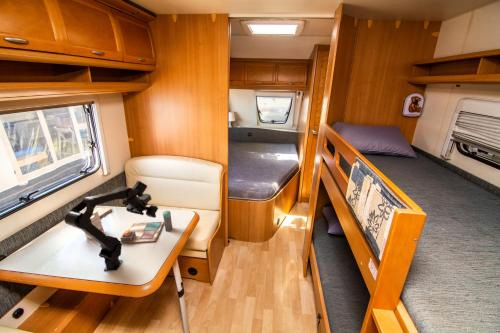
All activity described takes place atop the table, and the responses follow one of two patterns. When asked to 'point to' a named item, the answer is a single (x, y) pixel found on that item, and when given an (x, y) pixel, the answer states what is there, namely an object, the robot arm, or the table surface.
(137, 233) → the colouring board
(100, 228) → the ink cartridge box
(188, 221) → the table surface
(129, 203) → the robot arm
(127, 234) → the button
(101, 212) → the washcloth
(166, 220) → the teal rubber stamp
